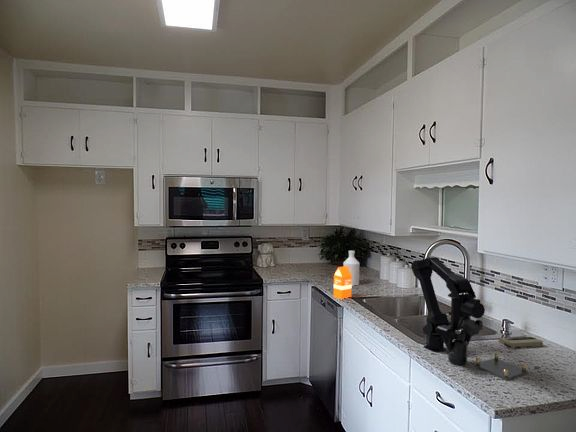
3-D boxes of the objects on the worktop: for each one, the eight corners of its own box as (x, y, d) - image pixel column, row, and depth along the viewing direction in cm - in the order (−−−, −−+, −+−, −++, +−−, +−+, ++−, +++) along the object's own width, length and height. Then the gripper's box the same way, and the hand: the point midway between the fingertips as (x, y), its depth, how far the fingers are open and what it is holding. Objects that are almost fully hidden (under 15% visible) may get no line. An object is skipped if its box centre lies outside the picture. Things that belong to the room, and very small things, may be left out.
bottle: (359, 286, 280) (359, 252, 279) (342, 285, 282) (343, 251, 281) (359, 282, 292) (359, 250, 291) (343, 282, 294) (343, 249, 293)
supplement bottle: (470, 365, 149) (471, 335, 148) (453, 366, 148) (454, 335, 148) (461, 358, 156) (462, 329, 155) (445, 358, 155) (445, 329, 155)
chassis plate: (474, 366, 148) (474, 357, 148) (495, 359, 154) (495, 351, 154) (506, 380, 137) (506, 371, 137) (528, 373, 143) (528, 364, 143)
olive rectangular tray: (528, 340, 176) (529, 333, 176) (543, 347, 168) (543, 340, 168) (498, 343, 174) (498, 335, 174) (511, 350, 166) (511, 342, 166)
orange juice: (333, 296, 250) (333, 266, 249) (342, 294, 256) (343, 265, 255) (341, 299, 244) (342, 268, 243) (351, 297, 249) (352, 266, 248)
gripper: (460, 319, 140) (459, 361, 140) (493, 312, 148) (491, 352, 149) (435, 311, 149) (434, 351, 150) (467, 305, 158) (466, 342, 159)
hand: (457, 349), depth 152 cm, fingers open, 9 cm apart
